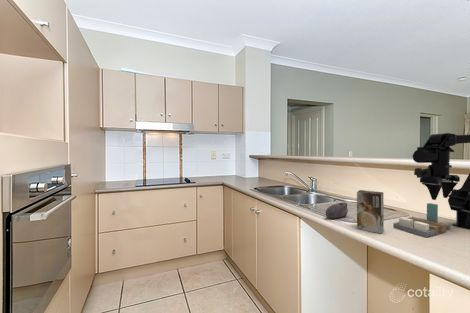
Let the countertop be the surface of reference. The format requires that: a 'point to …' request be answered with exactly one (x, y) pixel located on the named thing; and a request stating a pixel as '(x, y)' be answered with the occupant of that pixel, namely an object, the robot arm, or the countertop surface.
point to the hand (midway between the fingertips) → (439, 198)
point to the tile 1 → (406, 222)
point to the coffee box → (370, 211)
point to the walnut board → (432, 225)
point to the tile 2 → (421, 226)
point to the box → (414, 230)
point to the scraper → (433, 214)
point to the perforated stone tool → (337, 210)
